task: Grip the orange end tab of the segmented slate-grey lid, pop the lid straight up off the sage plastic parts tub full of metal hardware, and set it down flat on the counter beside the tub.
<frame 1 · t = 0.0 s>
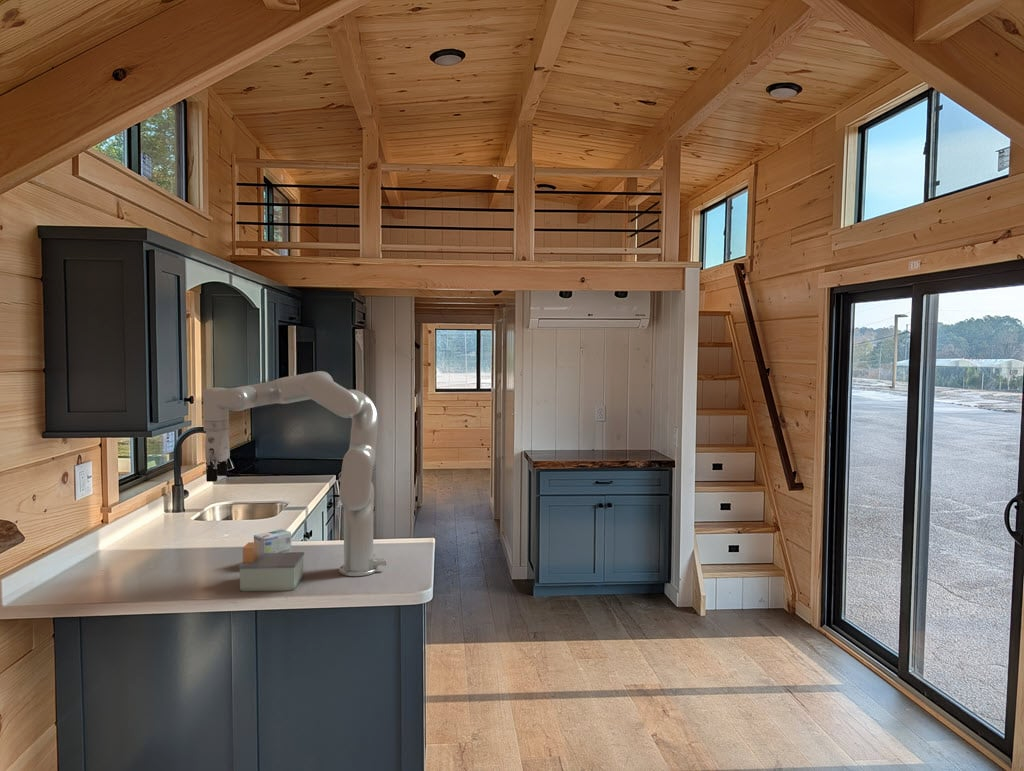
hand: (217, 478, 224), 31 cm above the counter, tool pointing down, fingers open, 9 cm apart
snap lid: (272, 564, 216), point 6 cm above the counter, touching parts tub
parts tub: (272, 583, 217), on the counter
light bulb box: (273, 564, 236), on the counter
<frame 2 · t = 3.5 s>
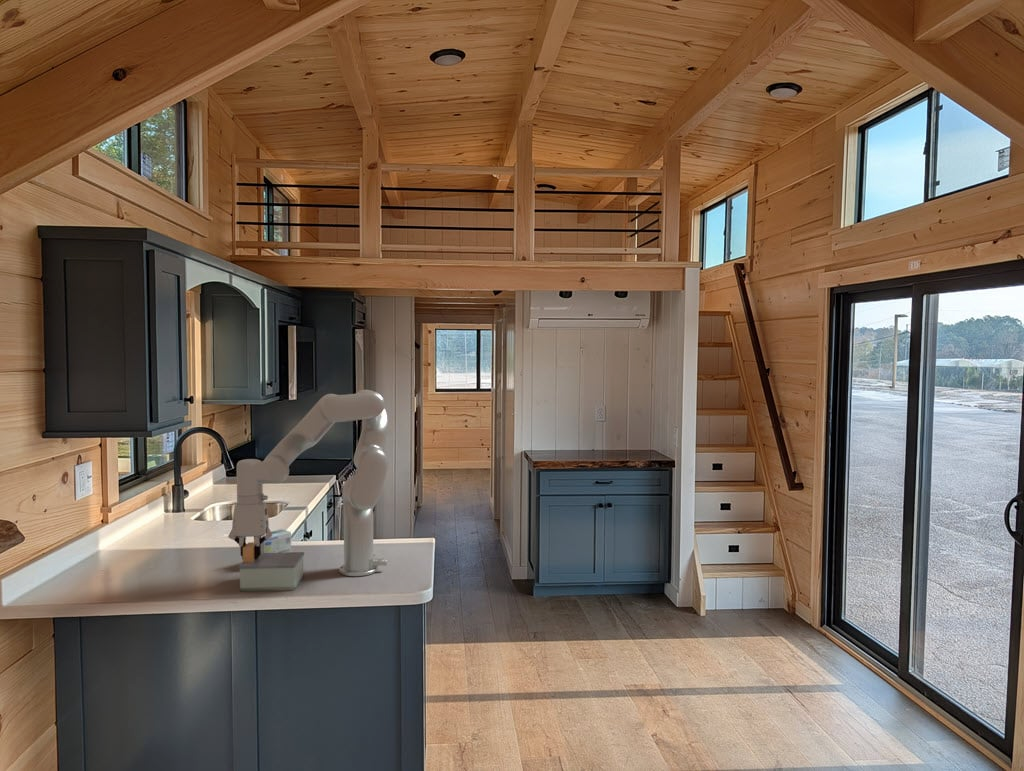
hand: (250, 557, 216), 8 cm above the counter, tool pointing down, fingers closed on snap lid, 3 cm apart
snap lid: (272, 564, 216), point 6 cm above the counter, touching gripper
everything else where it was.
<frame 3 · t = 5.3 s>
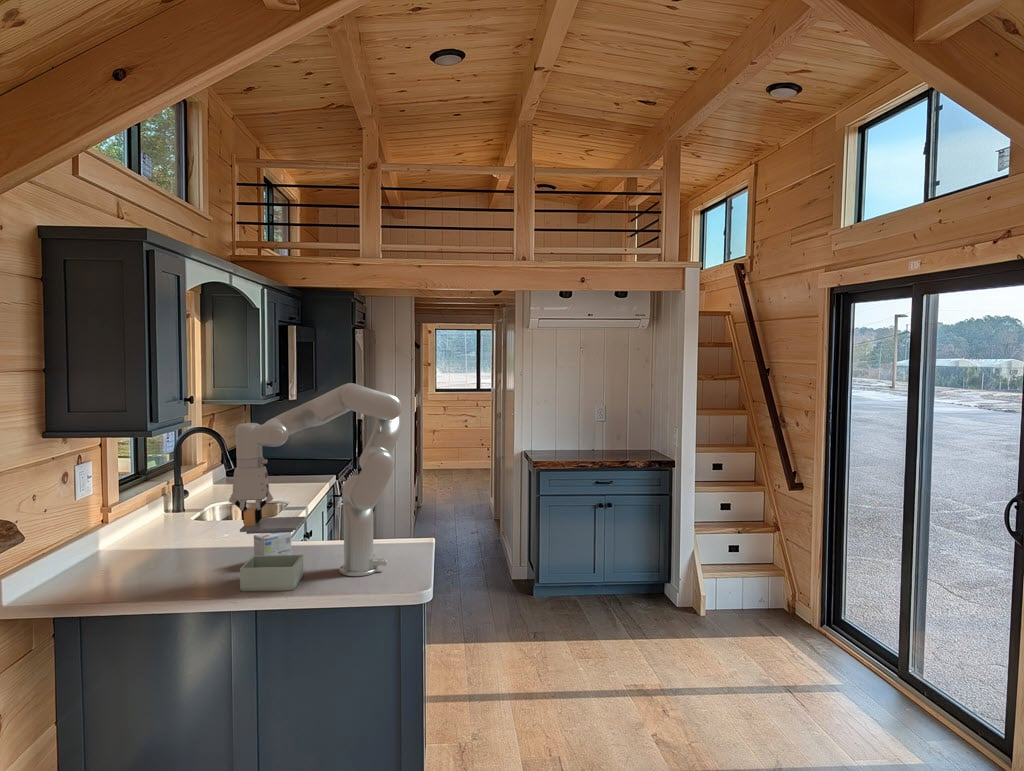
hand: (251, 521, 215), 20 cm above the counter, tool pointing down, fingers closed on snap lid, 3 cm apart
snap lid: (273, 528, 216), point 17 cm above the counter, touching gripper
everything else where it was.
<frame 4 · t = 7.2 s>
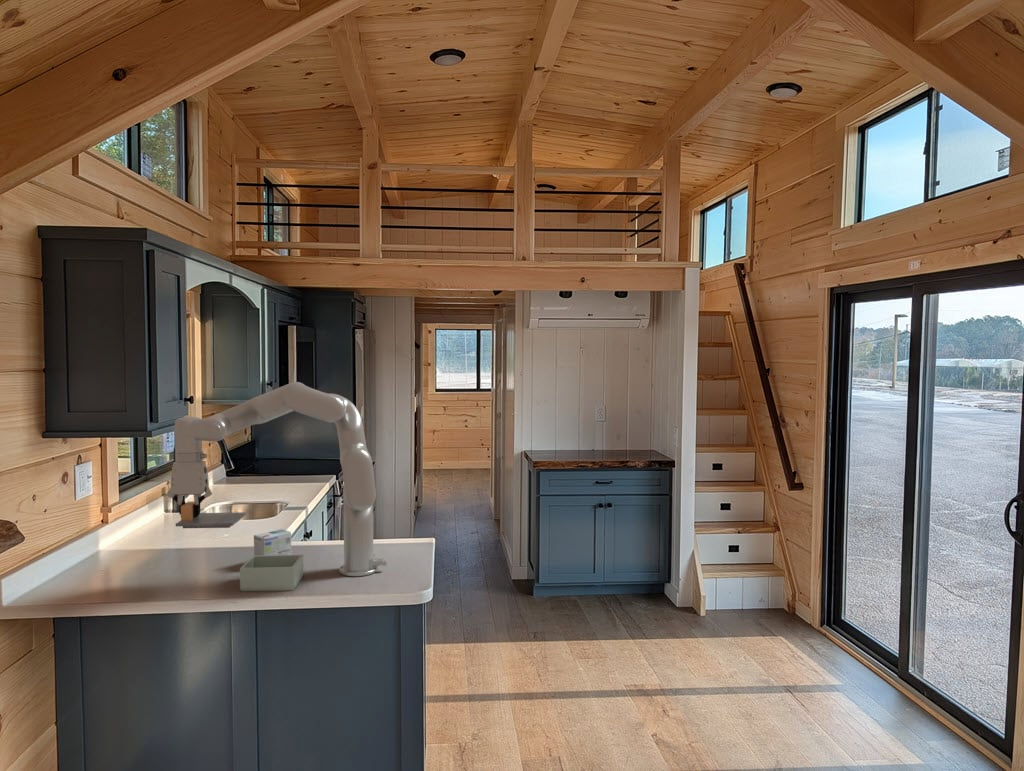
hand: (189, 516, 214), 22 cm above the counter, tool pointing down, fingers closed on snap lid, 3 cm apart
snap lid: (212, 523, 214), point 19 cm above the counter, touching gripper
everything else where it was.
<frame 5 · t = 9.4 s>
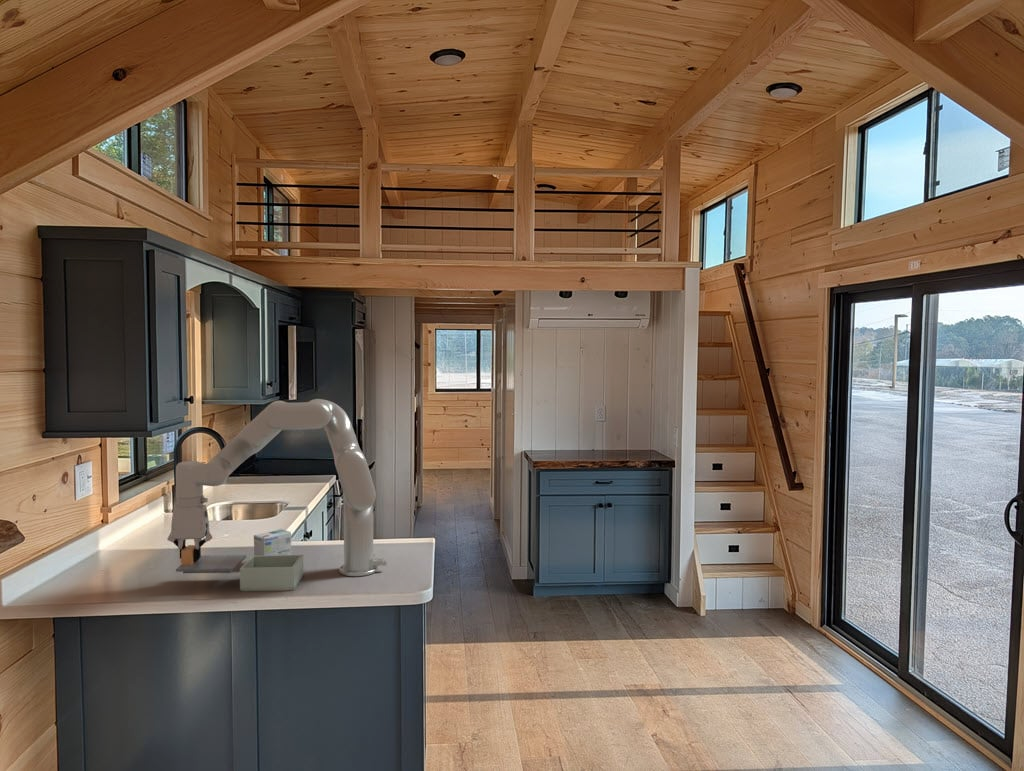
hand: (190, 560, 214), 8 cm above the counter, tool pointing down, fingers closed on snap lid, 3 cm apart
snap lid: (212, 567, 215), point 5 cm above the counter, touching gripper
everything else where it was.
when the fingers open (4 cm above the counter, at t = 11.0 s): snap lid drops 2 cm, on the counter.
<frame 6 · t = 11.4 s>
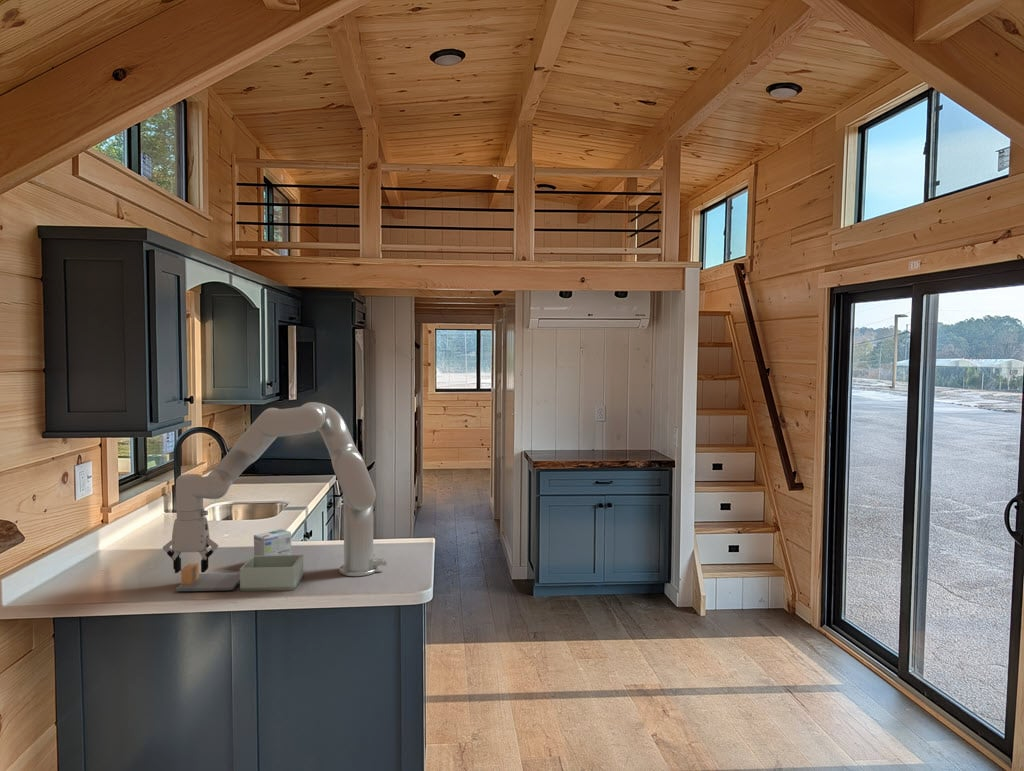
hand: (191, 571, 214), 4 cm above the counter, tool pointing down, fingers open, 7 cm apart
snap lid: (212, 586, 215), on the counter
everything else where it was.
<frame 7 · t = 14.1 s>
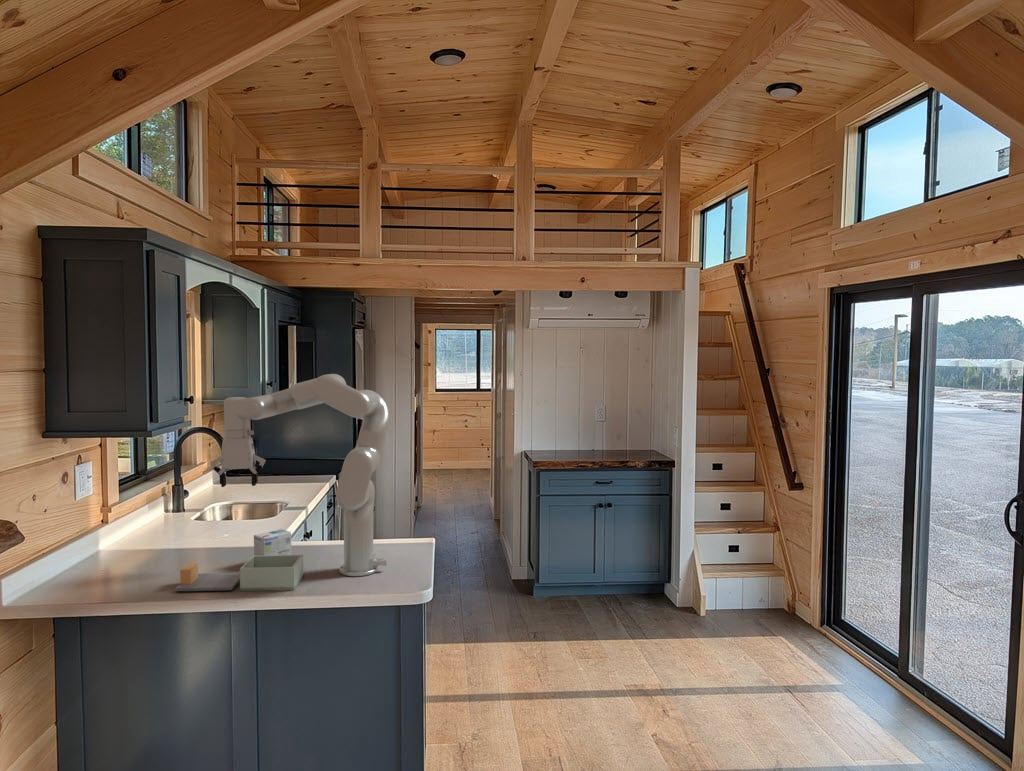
hand: (239, 485, 230), 28 cm above the counter, tool pointing down, fingers open, 9 cm apart
nothing on the counter moved.
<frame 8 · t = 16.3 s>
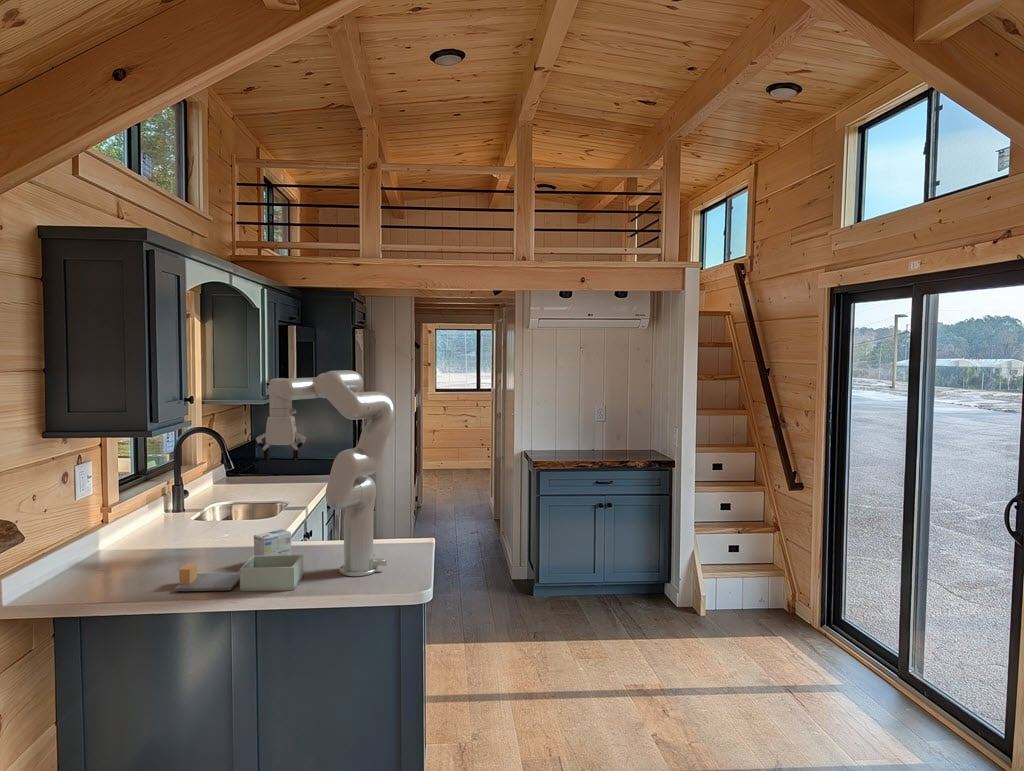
hand: (281, 460, 247), 33 cm above the counter, tool pointing down, fingers open, 9 cm apart
nothing on the counter moved.
at the end: snap lid touching counter; snap lid inside the target area (0.4 cm from its centre), on the counter; snap lid tilted 0° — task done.
